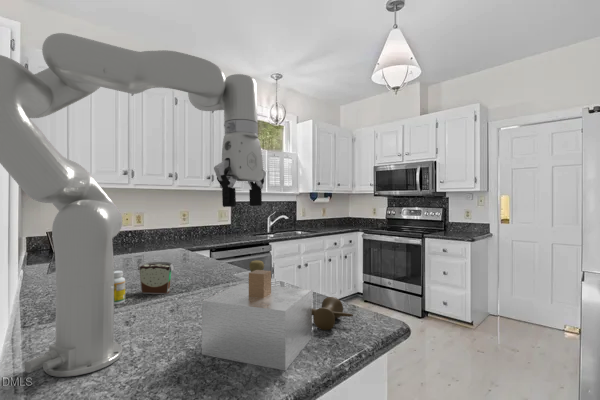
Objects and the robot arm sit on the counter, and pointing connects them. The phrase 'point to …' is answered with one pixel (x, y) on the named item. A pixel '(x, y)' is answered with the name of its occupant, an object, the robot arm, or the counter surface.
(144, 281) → the food container
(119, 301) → the supplement bottle
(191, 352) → the counter surface
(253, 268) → the olive green tapered piece
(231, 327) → the box with wooden handle
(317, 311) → the kendama
